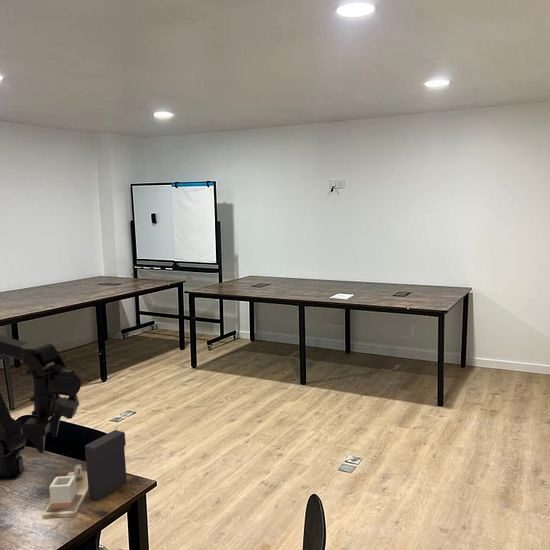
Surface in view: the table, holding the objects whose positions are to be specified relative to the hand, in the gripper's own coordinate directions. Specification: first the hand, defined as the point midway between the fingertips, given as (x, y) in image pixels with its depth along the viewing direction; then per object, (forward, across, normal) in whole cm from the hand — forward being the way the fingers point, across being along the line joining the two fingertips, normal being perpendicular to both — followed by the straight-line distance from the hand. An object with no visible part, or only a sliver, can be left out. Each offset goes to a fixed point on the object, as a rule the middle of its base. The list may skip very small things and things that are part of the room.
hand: (48, 444), depth 150 cm
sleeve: (+10, -12, -8) cm, 18 cm away
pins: (+11, -6, -8) cm, 15 cm away
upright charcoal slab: (+11, -5, -17) cm, 21 cm away
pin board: (+11, -6, -8) cm, 15 cm away
